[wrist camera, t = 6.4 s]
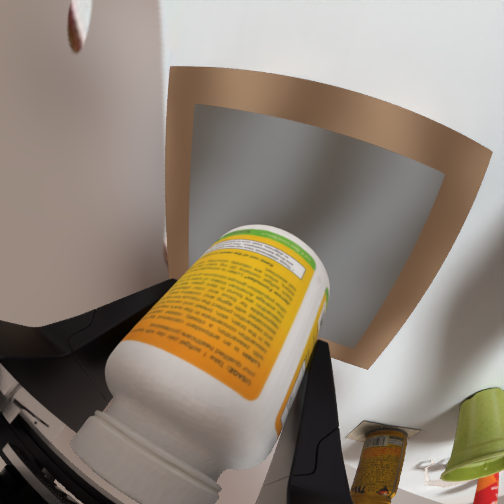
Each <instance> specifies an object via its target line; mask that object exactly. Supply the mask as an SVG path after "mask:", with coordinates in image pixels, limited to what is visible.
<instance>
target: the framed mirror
mask: <svg viewBox="0 0 504 504" xmlns="http://www.w3.org/2000/svg"><path fill="white" fill-rule="evenodd" d="M491 155H492V151H491V150H489V149H487V148H486V147H484V146H482V145H481V144H479V143H477V142H475V141H474V140H472V139H470V138H468V137H466V136H464V135H462V134H460V133H458V132H456V131H454V130H452V129H450V128H448V127H446V126H444V125H442V124H440V123H438V122H436V121H433V120H431V119H429V118H426V117H424V116H422V115H419V114H417V113H415V112H412V111H410V110H407V109H404V108H402V107H399V106H397V105H394V104H391V103H388V102H385V101H382V100H380V99H377V98H373V97H370V96H367V95H364V94H361V93H357V92H354V91H350V90H347V89H343V88H339V87H336V86H332V85H328V84H323V83H319V82H315V81H310V80H305V79H300V78H295V77H290V76H284V75H278V74H272V73H265V72H258V71H249V70H240V69H230V68H216V67H193V66H170V73H169V85H168V99H167V117H166V145H165V203H166V232H167V251H168V266H169V279H171V278H175V279H177V280H179V279H180V278H181V277H182V276H183V275H184V274H185V273H186V272H187V271H188V270H189V268H190V267H191V266H192V265H193V264H194V263H195V262H196V261H197V260H198V259H199V258H200V257H201V256H202V255H203V254H204V253H205V252H206V251H207V250H208V249H209V248H210V247H211V246H212V245H213V244H214V243H215V242H216V241H217V240H218V239H219V238H221V237H222V236H223V235H224V234H226V233H227V232H229V231H231V230H233V229H235V228H238V227H241V226H246V225H268V226H273V227H276V228H279V229H282V230H284V231H286V232H288V233H290V234H292V235H294V236H296V237H297V238H299V239H300V240H302V241H303V242H304V243H306V244H307V245H308V246H309V247H310V248H311V249H312V250H313V251H314V252H315V253H316V255H317V256H318V257H319V259H320V260H321V262H322V263H323V265H324V267H325V269H326V272H327V275H328V278H329V284H330V295H329V301H328V305H327V310H326V313H325V316H324V319H323V322H322V325H321V328H320V332H319V335H318V337H317V340H318V339H320V340H323V341H326V342H328V344H329V349H330V356H331V358H334V359H337V360H340V361H343V362H346V363H349V364H352V365H355V366H358V367H361V368H364V369H367V370H368V369H369V368H370V367H371V365H372V364H373V363H374V362H375V361H376V359H377V358H378V357H379V356H380V354H381V353H382V352H383V351H384V349H385V348H386V347H387V346H388V344H389V343H390V342H391V341H392V339H393V338H394V337H395V335H396V334H397V333H398V331H399V330H400V329H401V327H402V326H403V324H404V323H405V322H406V320H407V319H408V317H409V316H410V315H411V313H412V312H413V310H414V309H415V307H416V306H417V304H418V303H419V301H420V300H421V298H422V297H423V295H424V294H425V292H426V291H427V289H428V287H429V286H430V284H431V283H432V281H433V279H434V278H435V276H436V274H437V273H438V271H439V269H440V268H441V266H442V264H443V262H444V261H445V259H446V257H447V255H448V253H449V252H450V250H451V248H452V246H453V244H454V242H455V240H456V238H457V236H458V234H459V232H460V230H461V228H462V226H463V224H464V222H465V220H466V218H467V216H468V214H469V211H470V209H471V207H472V205H473V202H474V200H475V198H476V195H477V193H478V191H479V188H480V186H481V183H482V180H483V178H484V175H485V173H486V170H487V167H488V164H489V161H490V158H491ZM317 340H316V341H317Z"/></svg>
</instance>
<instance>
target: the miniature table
mask: <svg viewBox="0 0 504 504" xmlns="http://www.w3.org/2000/svg"><path fill="white" fill-rule="evenodd" d="M431 462H432V464H431V465H429V466H427V467H426V468H425V485H430V486H440V487H447V486H452V485H456V484H461V483H465V482H469V481H472V480H469V481H460V482H446V481H443V480H441V478H440V479H439V480H433V481H430V478H429V476H428V470H427V468H429V467H430V466H432V465H433V464H434V462H433V459H432V460H431ZM445 466H446V467H447V465H445ZM474 480H476V479H474Z"/></svg>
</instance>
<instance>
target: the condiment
mask: <svg viewBox="0 0 504 504" xmlns="http://www.w3.org/2000/svg"><path fill="white" fill-rule="evenodd" d="M418 432H420V431H419V430H413V429H406V428H403V427H394V426H386V425H382V424H378V423H370V422H365V421H363V422H362V423H361V424H360V425H359V426H358V427H356V428H355V429H354V430H353V431H352V432H351V433H350V434H349V435H348V436H347V437H346V438H349V439H354V440H357V441H363V442H364V446H363V450H362V453H361V457H360V461H359V465H358V468H357V471H356V475H355V478H354V481H353V485H352V487H351V491H350V494H351V497H352V500H353V503H354V504H390V503H391V498H393V497H394V496H395V494H396V492H397V489H398V485H399V481H400V475H401V471H402V467H403V462H404V456H405V450H406V446H407V439H409V438H410V437H412V436H414V435H416V434H417V433H418Z"/></svg>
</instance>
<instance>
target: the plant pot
mask: <svg viewBox="0 0 504 504" xmlns="http://www.w3.org/2000/svg"><path fill="white" fill-rule="evenodd" d="M503 470H504V391H503V390H502V389H500V388H492V389H487V390H483V391H481V392H478V393H476V394H475V395H474V396H473V397H472V398H471V399H468V400H465V401H464V402H463V403H462V405H461V406H460V411H459V418H458V424H457V430H456V435H455V440H454V445H453V449H452V454H451V458H450V460H449V461H448V463H447V467H446V470H445V471H444V472H443V473H442V474H441V477H440V478H441V480H443V481H446V482H460V481H469V480H474V479H479V478H483V477H486V476H489V475H492V474H495V473H498V472H500V471H503Z"/></svg>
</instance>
